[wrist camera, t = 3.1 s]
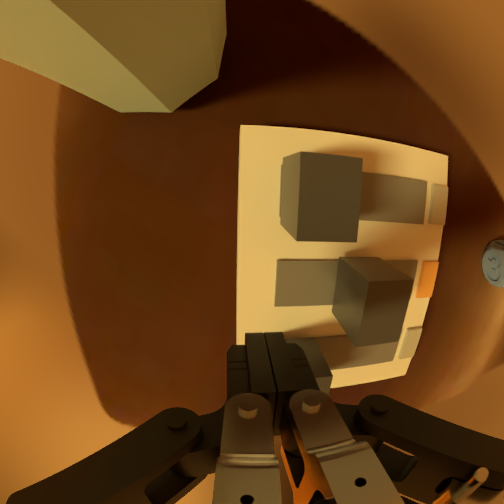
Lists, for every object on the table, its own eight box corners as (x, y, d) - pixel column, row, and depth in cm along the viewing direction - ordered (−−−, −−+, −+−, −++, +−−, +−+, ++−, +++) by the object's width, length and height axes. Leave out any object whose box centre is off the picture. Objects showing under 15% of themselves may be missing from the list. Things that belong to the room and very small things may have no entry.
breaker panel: (429, 156, 19) (451, 155, 16) (394, 360, 24) (407, 377, 22) (239, 131, 18) (240, 123, 15) (236, 375, 23) (237, 397, 21)
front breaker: (330, 161, 16) (362, 158, 12) (327, 225, 17) (356, 242, 13) (282, 157, 16) (300, 151, 11) (280, 224, 17) (296, 241, 13)
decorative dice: (500, 237, 22) (524, 246, 18) (498, 269, 23) (520, 280, 19) (482, 244, 22) (508, 254, 18) (479, 278, 23) (503, 291, 19)
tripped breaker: (378, 256, 18) (413, 279, 14) (368, 309, 19) (398, 341, 15) (338, 256, 18) (368, 281, 13) (331, 311, 19) (355, 347, 14)
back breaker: (314, 337, 19) (333, 376, 15) (307, 378, 20) (321, 418, 16) (273, 338, 19) (283, 380, 15) (269, 380, 20) (277, 423, 16)
